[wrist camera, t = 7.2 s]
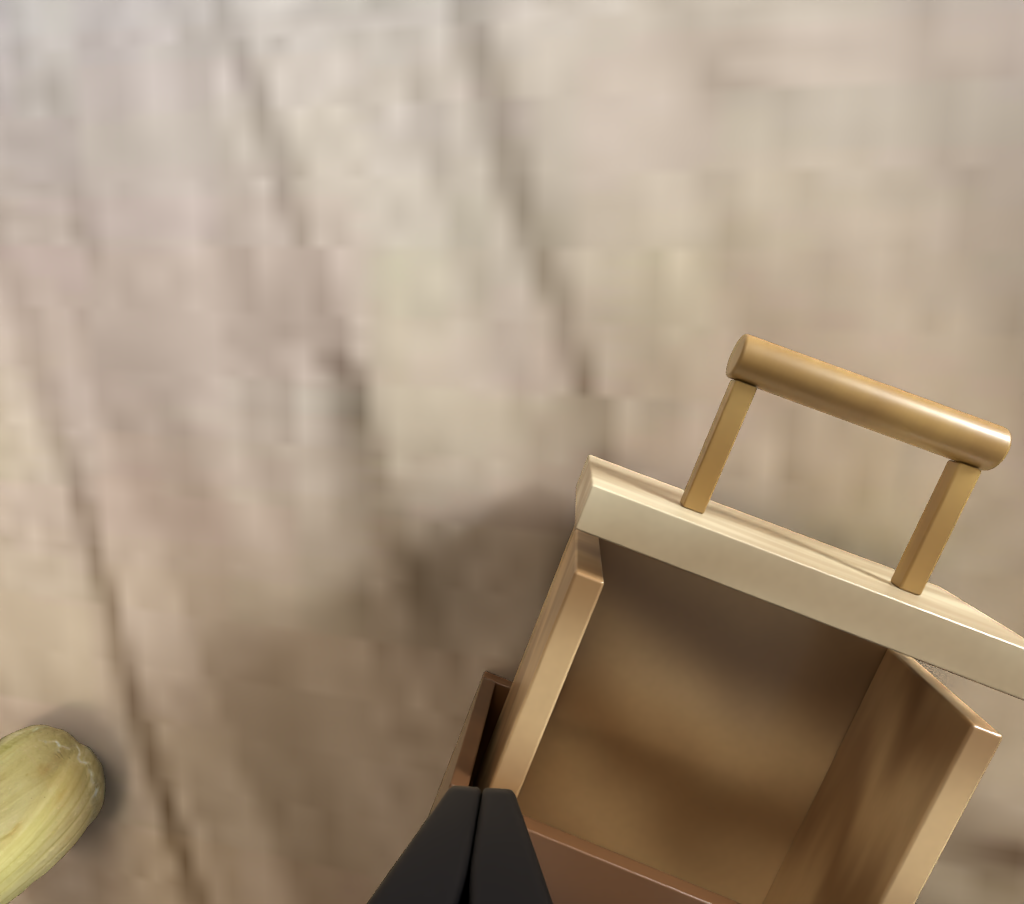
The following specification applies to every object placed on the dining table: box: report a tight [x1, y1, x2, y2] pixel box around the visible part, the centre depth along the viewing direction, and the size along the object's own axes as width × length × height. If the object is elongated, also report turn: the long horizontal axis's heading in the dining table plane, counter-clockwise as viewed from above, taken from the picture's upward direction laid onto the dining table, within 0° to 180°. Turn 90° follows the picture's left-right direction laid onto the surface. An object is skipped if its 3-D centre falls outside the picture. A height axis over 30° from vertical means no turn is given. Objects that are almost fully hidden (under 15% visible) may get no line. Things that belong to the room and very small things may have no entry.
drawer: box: [472, 334, 1024, 904], centre depth 19 cm, size 19×12×6 cm, turn 160°
